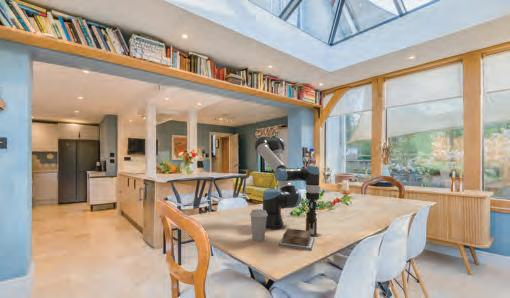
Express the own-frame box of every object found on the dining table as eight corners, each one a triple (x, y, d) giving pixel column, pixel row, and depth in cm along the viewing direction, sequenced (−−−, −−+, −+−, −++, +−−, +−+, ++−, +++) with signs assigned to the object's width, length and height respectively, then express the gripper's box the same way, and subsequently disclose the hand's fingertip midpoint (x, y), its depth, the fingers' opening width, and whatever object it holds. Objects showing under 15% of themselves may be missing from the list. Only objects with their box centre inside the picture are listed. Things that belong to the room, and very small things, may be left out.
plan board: (278, 245, 116) (278, 243, 116) (284, 236, 131) (284, 233, 131) (311, 250, 111) (311, 247, 111) (314, 239, 126) (314, 237, 126)
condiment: (310, 231, 141) (310, 211, 142) (322, 234, 135) (322, 213, 135) (302, 233, 136) (302, 212, 137) (314, 237, 130) (314, 215, 130)
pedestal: (283, 242, 117) (283, 234, 117) (287, 235, 129) (287, 228, 129) (307, 246, 113) (307, 237, 114) (310, 238, 125) (310, 230, 125)
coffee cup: (246, 237, 127) (247, 209, 128) (262, 235, 131) (263, 208, 131) (253, 243, 118) (253, 213, 119) (270, 241, 122) (270, 212, 123)
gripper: (318, 194, 127) (317, 238, 126) (320, 190, 145) (320, 228, 144) (304, 193, 129) (303, 236, 128) (307, 189, 147) (307, 227, 146)
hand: (312, 232), depth 136 cm, fingers closed on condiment, 6 cm apart
